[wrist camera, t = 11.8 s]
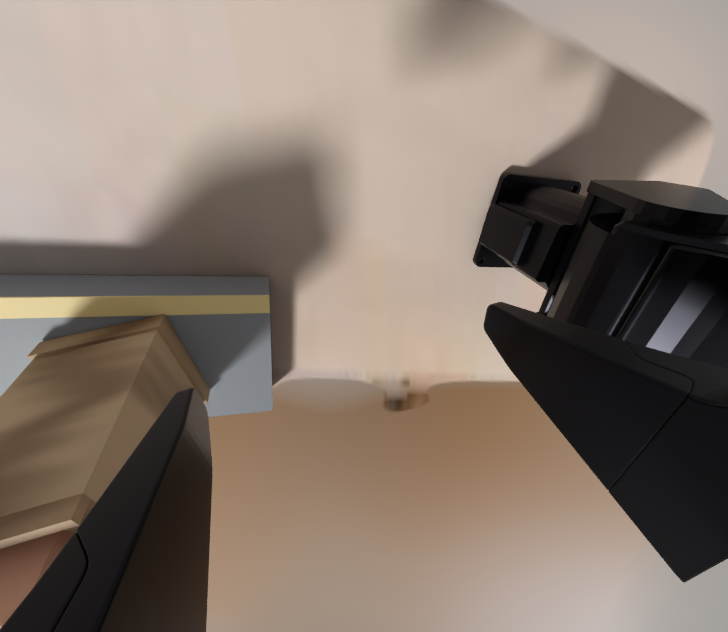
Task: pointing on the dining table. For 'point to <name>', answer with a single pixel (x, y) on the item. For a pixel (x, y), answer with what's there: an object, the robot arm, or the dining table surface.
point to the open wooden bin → (83, 420)
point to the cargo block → (26, 568)
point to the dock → (146, 299)
